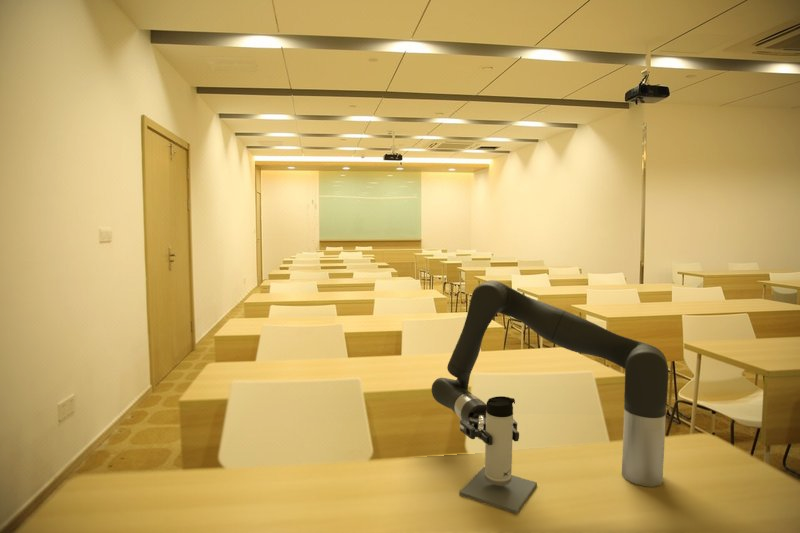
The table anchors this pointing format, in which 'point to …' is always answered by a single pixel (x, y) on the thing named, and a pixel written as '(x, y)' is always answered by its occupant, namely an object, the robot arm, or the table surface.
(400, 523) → the table surface
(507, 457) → the travel mug
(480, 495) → the gray mat
